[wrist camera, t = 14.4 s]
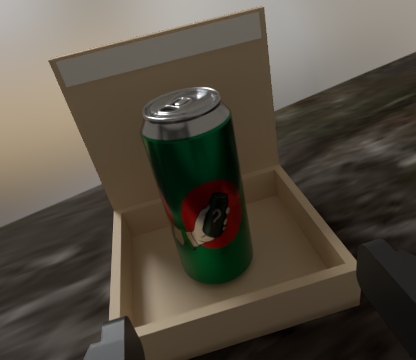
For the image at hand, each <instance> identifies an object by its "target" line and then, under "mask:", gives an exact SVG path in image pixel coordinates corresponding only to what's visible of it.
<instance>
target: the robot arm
mask: <svg viewBox="0 0 416 360" xmlns="http://www.w3.org/2000/svg"><path fill="white" fill-rule="evenodd" d="M356 278H357V281H358V284H359V286H360V288H361V290H362V292H363V293H364V295H365V296H366V297H367V299H368V300H369V301H370V303H371V304H372V305H373V307H374V308H375V309H376V311H377V312H378V313H379V315H380V316H381V317H382V319H383V320H384V321H385V323H386V324H387V325H388V327H389V328H390V329H391V331H392V332H393V333H394V335H395V336H396V337H397V339H398V340H399V341H400V343H401V344H402V345H403V347H404V348H405V349H406V351H407V352H408V353H409V355H410V356H411V357H412V359H413V360H416V256H415V255H413V254H411V253H409V252H407V251H405V250H403V249H400V250H397V251H395V250H394V249H393V248H392V247H391V246H390V245H389V244H388V243H387V242H386V241H385V240H383V239H376V240H373V241H370V242H366V243H363V244H360V245H359V246H358V248H357V266H356ZM84 360H145V354H144V349H143V346H142V343H141V340H140V338H139V336H138V335H137V333H136V331H135V329H134V327H133V325H132V323H131V321H130V319H129V317H128V316H123V317H119V318H116V319H113V320H110V321H106V322H104V323H103V326H102V337H101V342H98V343H95V344H92V345H90V347H89V349H88V351H87V353H86V355H85V357H84Z"/></svg>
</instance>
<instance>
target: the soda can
mask: <svg viewBox="0 0 416 360" xmlns="http://www.w3.org/2000/svg"><path fill="white" fill-rule="evenodd" d="M141 115H142V117H143V122H142V125H141V128H140V135H141V138H142V141H143V144H144V147H145V151H146V154H147V157H148V160H149V163H150V166H151V169H152V172H153V175H154V179H155V182H156V185H157V188H158V191H159V194H160V197H161V200H162V204H163V207H164V210H165V213H166V216H167V219H168V222H169V225H170V228H171V232H172V235H173V238H174V241H175V244H176V247H177V250H178V253H179V257H180V260H181V263H182V266H183V269H184V271H185V272H186V273H187V275H188V276H189V277H191V278H192V279H194V280H195V281H198V282H201V283H205V284H213V285H215V284H223V283H227V282H230V281H232V280H234V279H236V278H237V277H239V276H240V275H241V274H242V273H244V272H245V271H246V269H247V268H248V267H249V265H250V264H251V262H252V259H253V246H252V239H251V233H250V227H249V220H248V214H247V208H246V201H245V195H244V189H243V182H242V176H241V170H240V163H239V157H238V151H237V144H236V138H235V132H234V125H233V119H232V113H231V110H230V109H229V108H228V107H227V106H226V104H225V103H224V102H223V101H222V95H221V93H220V92H219V91H218V90H216V89H213V88H208V87H193V88H185V89H180V90H176V91H172V92H169V93H166V94H163V95H161V96H158V97H156V98H154V99H152V100H151V101H149V102H148V103H147V104H145V105H144V106H143V108H142V110H141Z"/></svg>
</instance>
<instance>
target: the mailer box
mask: <svg viewBox="0 0 416 360" xmlns="http://www.w3.org/2000/svg"><path fill="white" fill-rule="evenodd" d="M49 63H50V65H51V68H52V70H53V72H54V74H55V77H56V79H57V81H58V84H59V86H60V88H61V90H62V93H63V95H64V97H65V100H66V102H67V104H68V106H69V109H70V111H71V113H72V116H73V118H74V120H75V122H76V125H77V127H78V129H79V132H80V134H81V136H82V139H83V141H84V143H85V145H86V148H87V150H88V152H89V155H90V157H91V159H92V161H93V164H94V166H95V168H96V171H97V173H98V175H99V178H100V180H101V182H102V184H103V187H104V189H105V191H106V194H107V196H108V198H109V200H110V203H111V205H112V207H113V210H114V223H113V245H112V267H111V289H110V311H109V321H110V320H113V319H116V318H119V317H123V316H128V317H129V319H130V321H131V323H132V325H133V327H134V329H135V331H136V333H137V335H138V336H139V338H140V340H141V343H142V346H143V349H144V354H145V360H188V359H191V358H194V357H197V356H200V355H204V354H207V353H210V352H213V351H216V350H219V349H223V348H226V347H229V346H232V345H235V344H238V343H241V342H245V341H248V340H251V339H254V338H257V337H260V336H264V335H267V334H270V333H273V332H276V331H279V330H283V329H286V328H289V327H292V326H295V325H298V324H302V323H305V322H308V321H311V320H314V319H317V318H321V317H324V316H327V315H330V314H333V313H336V312H340V311H343V310H346V309H349V308H352V307H355V306H359V305H360V293H361V288H360V286H359V284H358V281H357V278H356V266H357V261H356V260H355V258H354V257H353V256H352V255H351V253H350V252H349V251H348V250H347V248H346V247H345V246H344V245H343V243H342V242H341V241H340V240H339V238H338V237H337V236H336V235H335V233H334V232H333V231H332V230H331V228H330V227H329V226H328V225H327V223H326V222H325V221H324V220H323V218H322V217H321V216H320V215H319V214H318V212H317V211H316V210H315V209H314V207H313V206H312V205H311V204H310V202H309V201H308V200H307V199H306V197H305V196H304V195H303V194H302V192H301V191H300V190H299V189H298V187H297V186H296V185H295V184H294V182H293V181H292V180H291V179H290V177H289V176H288V175H287V174H286V172H285V171H284V170H283V169H282V167H281V166H280V165H279V158H278V148H277V137H276V127H275V116H274V106H273V96H272V85H271V75H270V65H269V54H268V45H267V33H266V23H265V14H264V7H262V6H260V7H256V8H252V9H248V10H244V11H240V12H236V13H232V14H228V15H224V16H220V17H215V18H211V19H207V20H204V21H199V22H195V23H191V24H188V25H183V26H179V27H175V28H171V29H167V30H163V31H159V32H155V33H151V34H147V35H143V36H139V37H135V38H131V39H127V40H122V41H118V42H114V43H110V44H106V45H102V46H98V47H94V48H90V49H86V50H82V51H78V52H74V53H70V54H66V55H62V56H58V57H54V58H50V59H49ZM193 87H208V88H213V89H216V90H218V91H219V92H220V93H221V95H222V101H223V102H224V103H225V104H226V106H227V107H228V108H229V109H230V110H231V113H232V119H233V125H234V132H235V138H236V144H237V151H238V157H239V163H240V170H241V176H242V182H243V189H244V195H245V201H246V208H247V214H248V220H249V227H250V233H251V239H252V246H253V259H252V262H251V264H250V265H249V267H248V268H247V269H246V271H245V272H244V273H242V274H241V275H240V276H239V277H237V278H236V279H234V280H232V281H230V282H227V283H223V284H215V285H213V284H205V283H201V282H198V281H195V280H194V279H192V278H191V277H189V276H188V275H187V273H186V272H185V271H184V269H183V266H182V263H181V260H180V257H179V253H178V250H177V247H176V244H175V241H174V238H173V235H172V232H171V228H170V225H169V222H168V219H167V216H166V213H165V210H164V207H163V204H162V200H161V197H160V194H159V191H158V188H157V185H156V182H155V179H154V175H153V172H152V169H151V166H150V163H149V160H148V157H147V154H146V151H145V147H144V144H143V141H142V138H141V135H140V128H141V125H142V122H143V117H142V115H141V110H142V108H143V106H144V105H145V104H147V103H148V102H149V101H151V100H152V99H154V98H156V97H158V96H161V95H163V94H166V93H169V92H172V91H176V90H180V89H185V88H193Z"/></svg>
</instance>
